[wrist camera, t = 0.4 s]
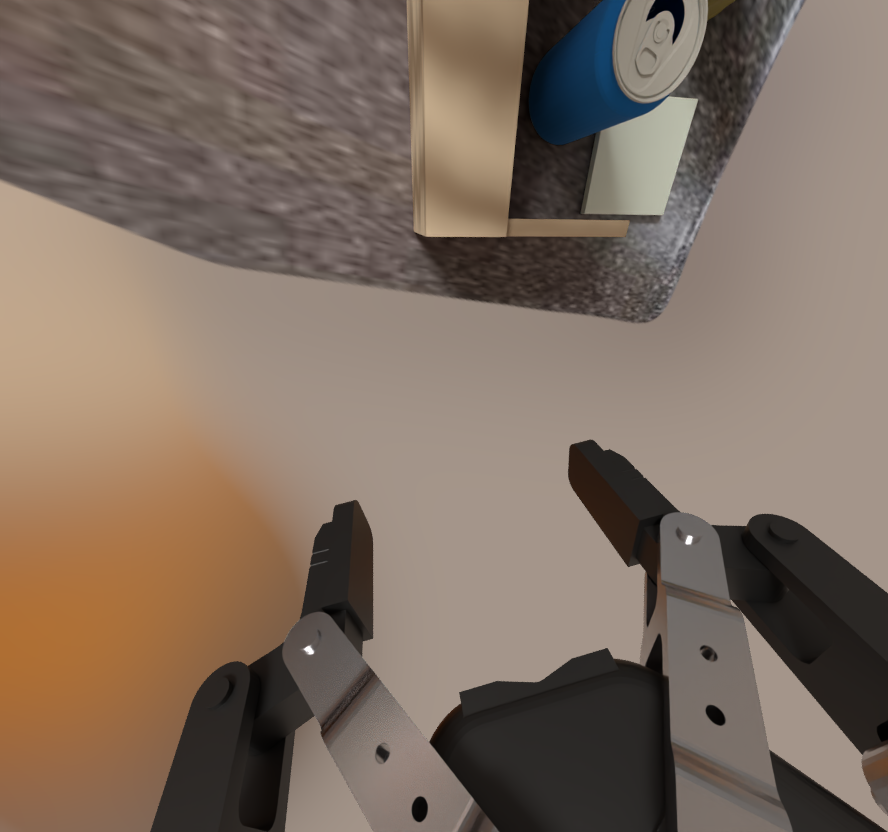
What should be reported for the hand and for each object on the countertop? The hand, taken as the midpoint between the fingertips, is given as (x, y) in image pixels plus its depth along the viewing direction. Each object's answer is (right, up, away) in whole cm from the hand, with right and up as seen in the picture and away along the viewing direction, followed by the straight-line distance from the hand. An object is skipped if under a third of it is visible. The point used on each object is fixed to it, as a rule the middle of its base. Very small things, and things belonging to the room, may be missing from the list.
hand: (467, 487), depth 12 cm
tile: (+18, +28, +20) cm, 38 cm away
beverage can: (+9, +31, +17) cm, 36 cm away
